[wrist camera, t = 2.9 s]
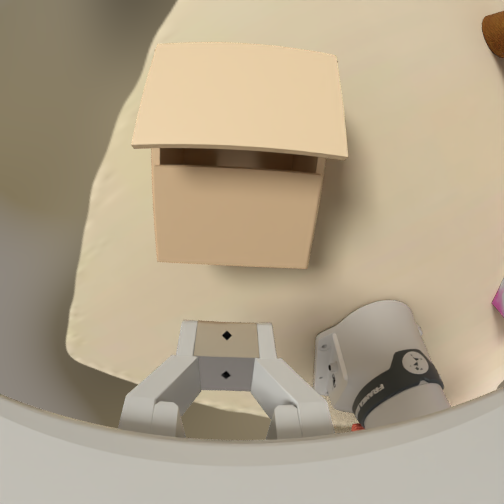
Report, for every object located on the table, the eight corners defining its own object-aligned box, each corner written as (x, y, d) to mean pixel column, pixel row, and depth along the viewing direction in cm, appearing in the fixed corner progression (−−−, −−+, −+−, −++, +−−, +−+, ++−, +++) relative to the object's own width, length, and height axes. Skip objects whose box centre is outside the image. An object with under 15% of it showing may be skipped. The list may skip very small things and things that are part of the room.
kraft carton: (289, 219, 33) (308, 272, 23) (179, 213, 32) (156, 265, 23) (306, 71, 25) (340, 60, 16) (182, 63, 24) (152, 48, 15)
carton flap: (344, 160, 15) (348, 157, 15) (133, 148, 14) (131, 144, 14) (333, 59, 16) (336, 55, 16) (158, 48, 15) (157, 44, 15)
